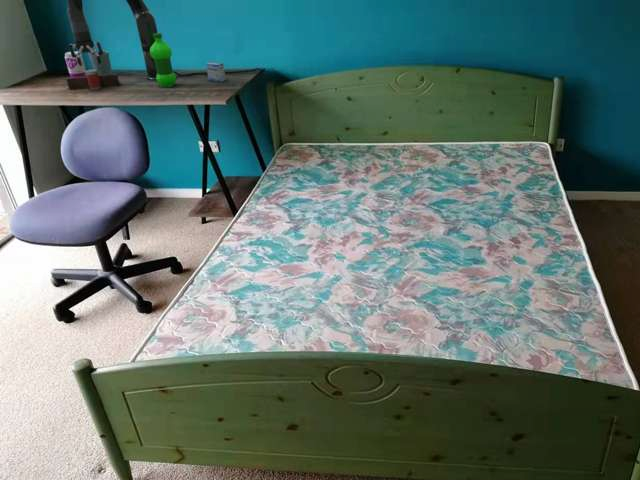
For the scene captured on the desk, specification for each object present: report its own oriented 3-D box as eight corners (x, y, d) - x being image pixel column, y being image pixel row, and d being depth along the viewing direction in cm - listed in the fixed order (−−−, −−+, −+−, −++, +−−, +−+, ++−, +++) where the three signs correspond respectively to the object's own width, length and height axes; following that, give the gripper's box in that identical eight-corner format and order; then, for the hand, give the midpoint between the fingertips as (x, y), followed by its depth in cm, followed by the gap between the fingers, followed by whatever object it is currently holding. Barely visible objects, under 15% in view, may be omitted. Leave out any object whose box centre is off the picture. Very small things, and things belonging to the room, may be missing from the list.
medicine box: (208, 81, 312) (205, 63, 307) (213, 78, 315) (210, 61, 311) (221, 82, 309) (218, 64, 304) (226, 80, 313) (223, 62, 308)
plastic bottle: (157, 89, 300) (145, 36, 287) (157, 84, 309) (146, 32, 295) (177, 87, 302) (167, 35, 289) (177, 82, 311) (167, 31, 297)
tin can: (102, 86, 307) (97, 68, 302) (101, 89, 302) (96, 71, 297) (90, 88, 305) (85, 69, 300) (89, 90, 301) (84, 72, 296)
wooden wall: (119, 83, 312) (117, 72, 309) (119, 85, 309) (116, 74, 306) (70, 87, 307) (67, 76, 304) (69, 89, 303) (66, 78, 300)
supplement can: (83, 84, 311) (74, 54, 303) (69, 84, 313) (60, 54, 305) (92, 80, 318) (84, 51, 310) (78, 80, 319) (70, 50, 311)
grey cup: (96, 78, 321) (89, 55, 314) (93, 74, 328) (86, 52, 322) (115, 76, 325) (109, 53, 319) (112, 72, 333) (106, 49, 326)
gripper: (64, 32, 284) (74, 68, 293) (95, 30, 288) (105, 65, 296) (65, 30, 290) (76, 64, 299) (96, 27, 294) (106, 61, 302)
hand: (90, 64), depth 298 cm, fingers open, 8 cm apart
